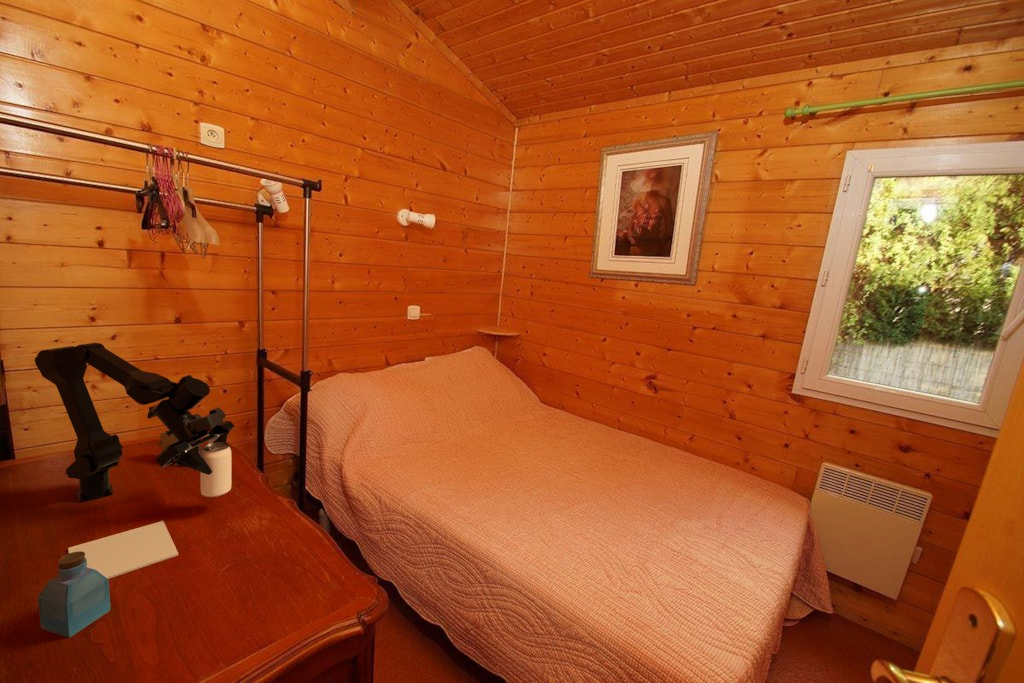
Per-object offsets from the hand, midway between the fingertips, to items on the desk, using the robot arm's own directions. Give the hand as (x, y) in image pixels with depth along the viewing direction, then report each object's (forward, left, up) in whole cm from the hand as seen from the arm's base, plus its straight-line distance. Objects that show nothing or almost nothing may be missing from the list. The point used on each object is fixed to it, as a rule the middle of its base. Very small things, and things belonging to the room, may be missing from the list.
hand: (220, 467), depth 108 cm
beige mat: (+5, -19, -12) cm, 23 cm away
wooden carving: (-38, -1, -12) cm, 40 cm away
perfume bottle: (+22, -27, -12) cm, 37 cm away
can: (-1, -1, -7) cm, 7 cm away
